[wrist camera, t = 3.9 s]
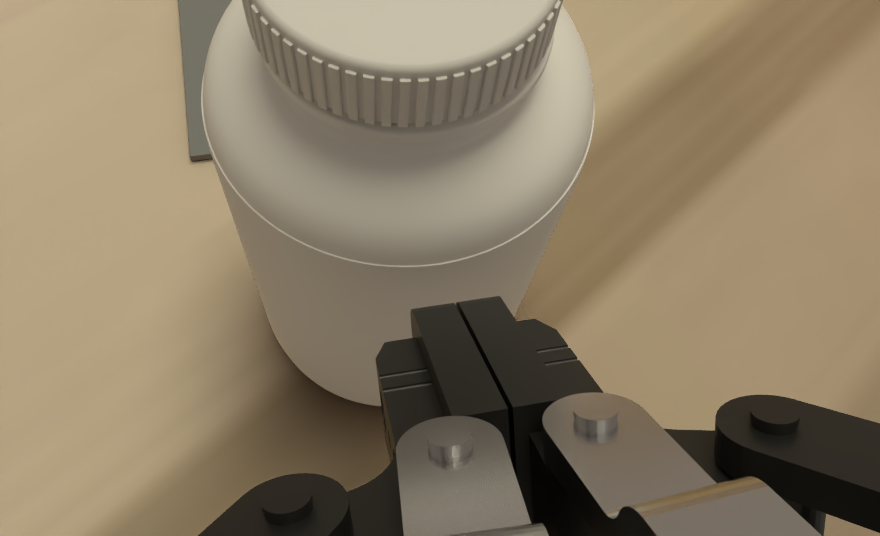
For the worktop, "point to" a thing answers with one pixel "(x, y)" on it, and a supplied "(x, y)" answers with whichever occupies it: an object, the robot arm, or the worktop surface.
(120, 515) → the worktop surface
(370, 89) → the pill bottle
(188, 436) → the worktop surface
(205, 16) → the mat
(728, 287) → the worktop surface
